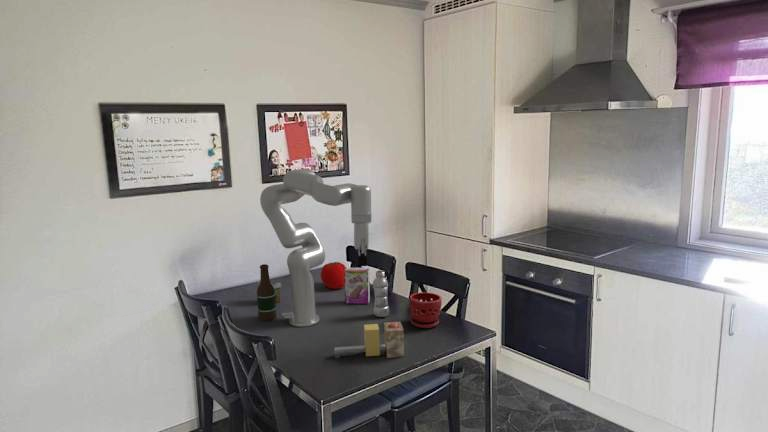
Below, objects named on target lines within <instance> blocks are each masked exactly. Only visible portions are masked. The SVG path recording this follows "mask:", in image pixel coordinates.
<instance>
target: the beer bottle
mask: <svg viewBox="0 0 768 432" xmlns="http://www.w3.org/2000/svg"><path fill="white" fill-rule="evenodd" d="M259 269H260V285H259V286H258V287H257V289H256V299H257V300H256V302H257V316H258V319H259V321H260V322H263V323H264V322H266V323H267V322H272V321H275V319H276V320H277V304H276V298H275V290H274V287H273V286H272V284H271V283H270V282H271V280H270V272H269V265H268V264H265V263H264V264H260V265H259Z"/></svg>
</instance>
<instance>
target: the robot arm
mask: <svg viewBox="0 0 768 432" xmlns="http://www.w3.org/2000/svg"><path fill="white" fill-rule="evenodd" d="M305 195H307V196H309V197H312V199H313V200H314V201H316V202H318V203H320V204H324V205H328V206H333V207H339V206H341V205H344V204H345V205H346V204H347V205H348V204H351V205H350V207H351V209H350V213H351V214H350V218H351V224H353V238H354V239H353V245H354V249H355V250H356V251H358V252H357V254H358V255H357V265H358V267H366V266H367V265H368V262H367V261H368V257H367V250H369V240H370V239H369V237H370V236H369V233H370V232H369V228H370V227H369V224H371V223H372V221H373V220H372V189H371V187H370V186H369V185H366V184H365V185H364V184H355V183H341V184H337V185H335V184H334V185H329V184H325V183H324V180H323V177H322V176H320V175H317V174H315V172H314V171H313V170H311V169H310V168H299V169H292V170H289V171H287V172H286V173H285V174H284V175H283V178H282V183H279V184H273V185H269V186H267V187H265V188H264V189H263V190H261V194H260V198H259V201H260V203H259V204H260V207H261V209H262V211H263V213H264V215H265V216H266V217H267V219H268V220H269V222H270V224H271V227H272V228H273V231H274V232H275V234H276V236H277V238H278V240H279V242H280V243H281V245H282V247H283V248H285V249H294V248H296V247H297V248H296V249H294V250H293V251H291V252H289V254H288V256H287V259H286V263H287V268H288V273H289V277H290V290H291V311H289V312H282V313H281V318H284V320H288V319H289V324H290V325H291V326H293V327H310V326H313V325H315V324H317V323H318V322H319V321H320V316H319V315H318V314H316V304H315V303H316V298H315V282H314V281H315V280H314V277H313V275H312V274H311V270H312V269H313V268H316V267H319V266H321V265H322V264H323V263H324V262H325V260H326V252H325V249H324V247H323V245H322V243H321V241H320V239H319V237H318V235H317V233H316V232H315V230H314V229H313V228H314V227H312V226H311V225H310V224H309V223H307V222H297V223H296V222H294V220H293V219H292V216H291V214H290V213H289V212H288V211H287V210H286V209H285V208H284V207H282V205H285V204H290V203H295V202H297V201H299V200H300V199H301V198H302V197H305ZM300 246H301V247H300ZM298 247H300V248H298Z"/></svg>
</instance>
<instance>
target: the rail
mask: <svg viewBox="0 0 768 432" xmlns="http://www.w3.org/2000/svg"><path fill="white" fill-rule="evenodd" d="M385 350H386V344H385V343H380V355H379V356H384V355H386V351H385ZM359 352H366V348H365V344H364V345H351V346H337V347H334V359H341V354H345V353H348V354H349V353H359Z"/></svg>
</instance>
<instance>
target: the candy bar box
mask: <svg viewBox="0 0 768 432" xmlns="http://www.w3.org/2000/svg"><path fill="white" fill-rule="evenodd" d="M344 275H345V286H344V304H345V305H347V304H349V305H369V304H370V300H371V295H370V294H371V292H370V289H371V288H370V268H369V267H346V269H345V270H344Z"/></svg>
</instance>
